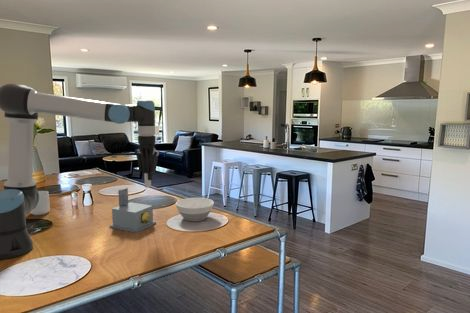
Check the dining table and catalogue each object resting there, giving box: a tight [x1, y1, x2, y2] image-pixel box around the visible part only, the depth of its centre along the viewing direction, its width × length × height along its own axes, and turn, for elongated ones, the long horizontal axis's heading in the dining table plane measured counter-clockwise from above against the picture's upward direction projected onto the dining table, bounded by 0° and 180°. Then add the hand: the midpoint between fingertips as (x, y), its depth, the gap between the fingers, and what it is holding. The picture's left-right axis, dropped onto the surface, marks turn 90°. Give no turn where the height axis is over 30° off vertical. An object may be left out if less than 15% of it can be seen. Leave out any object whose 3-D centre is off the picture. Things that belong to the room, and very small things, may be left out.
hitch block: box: [109, 201, 157, 234], centre depth 160 cm, size 16×14×9 cm
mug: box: [30, 190, 51, 216], centre depth 179 cm, size 12×9×11 cm
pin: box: [141, 212, 151, 223], centre depth 160 cm, size 18×5×5 cm, turn 64°
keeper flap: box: [117, 187, 129, 207], centre depth 161 cm, size 8×5×1 cm
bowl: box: [175, 197, 215, 222], centre depth 171 cm, size 19×19×8 cm
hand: (147, 186), depth 153 cm, fingers closed
